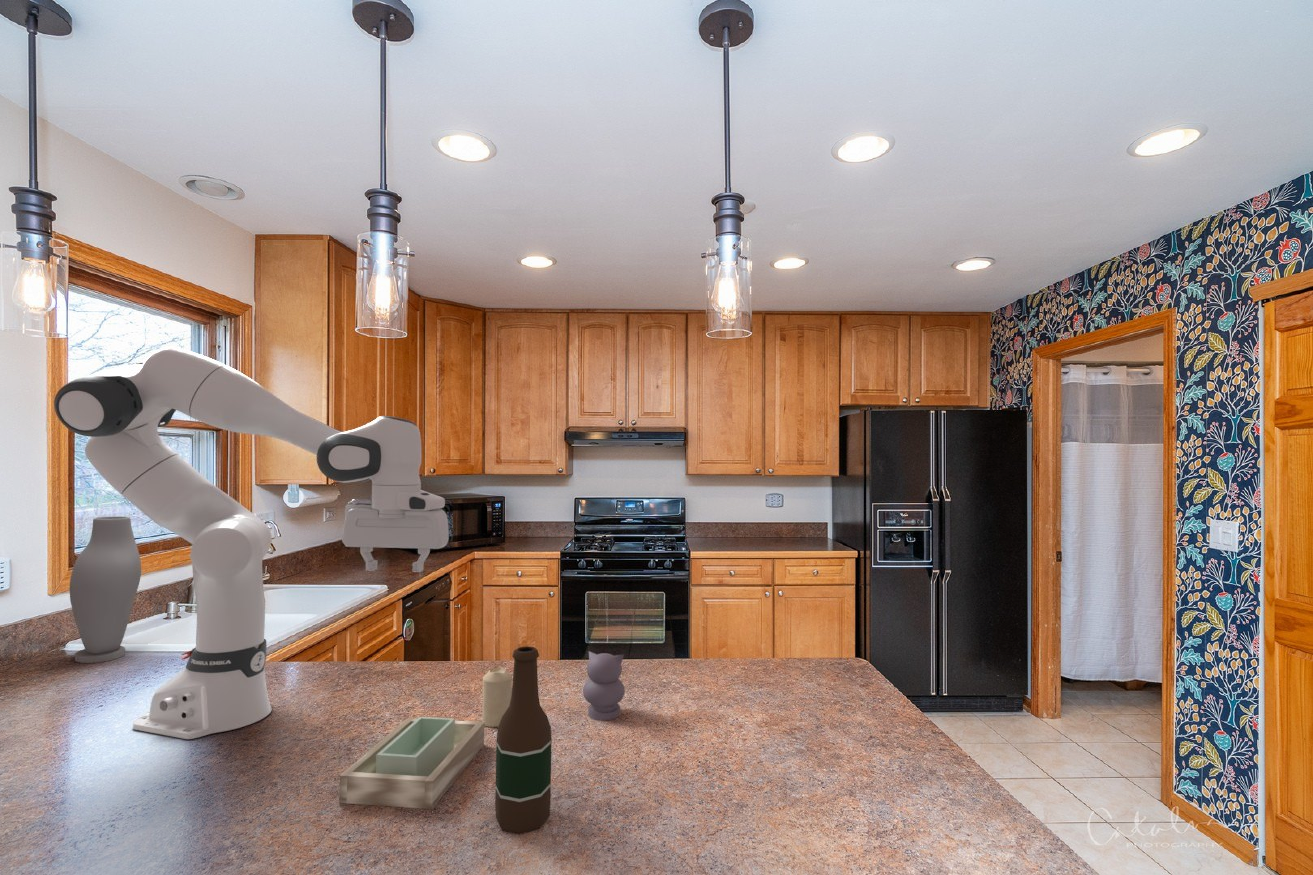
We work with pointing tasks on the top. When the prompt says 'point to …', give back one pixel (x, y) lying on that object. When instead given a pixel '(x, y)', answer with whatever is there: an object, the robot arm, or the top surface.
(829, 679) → the top surface
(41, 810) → the top surface
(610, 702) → the cat figurine
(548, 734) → the beer bottle
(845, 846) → the top surface
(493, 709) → the candle
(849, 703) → the top surface
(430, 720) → the green crate
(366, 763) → the box
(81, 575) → the vase
